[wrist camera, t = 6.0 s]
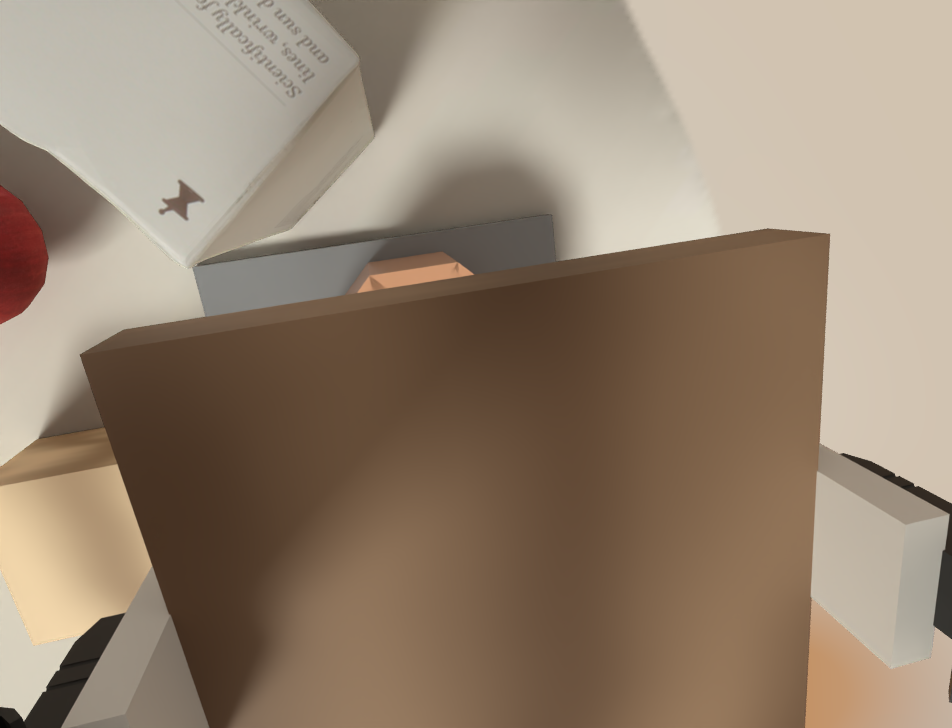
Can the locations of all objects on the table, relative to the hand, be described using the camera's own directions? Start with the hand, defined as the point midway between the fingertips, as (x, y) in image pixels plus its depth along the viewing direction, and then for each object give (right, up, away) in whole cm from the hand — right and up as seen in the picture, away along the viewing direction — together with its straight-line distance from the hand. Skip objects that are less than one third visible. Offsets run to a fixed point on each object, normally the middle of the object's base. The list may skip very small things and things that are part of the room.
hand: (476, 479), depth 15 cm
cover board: (+1, -1, -3) cm, 3 cm away
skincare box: (-9, +13, +10) cm, 19 cm away
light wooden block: (-16, -3, +13) cm, 21 cm away
